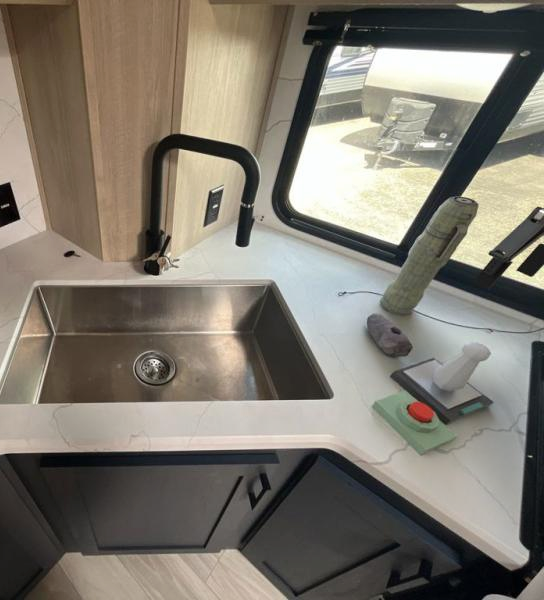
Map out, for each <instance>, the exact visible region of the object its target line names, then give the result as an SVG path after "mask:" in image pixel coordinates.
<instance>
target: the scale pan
mask: <svg viewBox="0 0 544 600" xmlns="http://www.w3.org/2000/svg"><path fill="white" fill-rule="evenodd" d="M436 360H437V359H436ZM436 360H433V361H430V362H428V363H425V364H422V365H419V366H416V367H413V368H411V369H408V370H405V371H403V372H402V374H404V375H405V376H406V377H407V378H408V379H410V380H411V381H412V382H413V383H414V384H416V385H417V386H418V387H419V388H420V389H421V390H423V391H424V392H425V393H426V394H427V395H429V396H430V397H431V398H432V399H433V400H435V401H436V402H437V403H438V404H439V405H441V406H442V407H443V408H444V409H445V410H450V409H452V408H454V407H457V406H459V405H462V404H464V403H466V402H469V401H471V400H474V399H476V398H479V397H481V396H482V394H483V393H482V392H481V393H482V394H481V393H479V392H478V391H479V390H478V389H477V390H478V391H477V390H475V389H476V388H475V387H474V386H473V387H474V388H475V389H474V388H473V387H471V386H472V385H471V384H470V383H469V384H470V385H471V386H470V385H469V384H466V385H465V387H464V388H462V389H458V390H454V391H451V392H449V391H446V390H443V389H440V388H439V387H438V386H437V385H436V384H435V383H434V371H435V370H436V369H437V368H438V367H440V366H441V365H442V364H443V363H442V364H440V363H441V362H440V361H439V360H438V361H439V362H440V363H439V362H438V361H436Z"/></svg>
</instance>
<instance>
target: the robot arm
mask: <svg viewBox="0 0 544 600" xmlns="http://www.w3.org/2000/svg"><path fill="white" fill-rule="evenodd" d="M542 237H544V207H541V206H536V207H535V208H533V210H532V211H531V212H530V213H529V214H528V216H527V217H526V218H525V219H524V220H523V221H521V222H520V224H518V225H517V226H516V227H515V228H514V229H513V230H512V231H511V232H510V233H509V234H508V235H507V236H506V237H504V239H502V240H501V241H500V242H499V243H498V244H497V245H496V246H494V248H492V249H491V250H489V252H488V253H487V254H488V256H489V257H491V259H490V260H489V261H488V262H487V264H486V265H485V266H484V268H483V269H482V270H481V271H480V272H479V274H478V275H477V276H476V278H475V279H474V280H473V281H472V284H474V285H476V286H478V287H480V288H482V289H484V290H486V291H488V290H490V289H491V288H492V287H493V286H494V285H495V284H496V283H497V281H498V280H499V279H500V278H501V277H502V275H503V274H504V273H505V272H506V271H507V270H508V269H509V267H510V266H511V265H512V264H513V263H514V262H513V261H512V260H514V259H515V258H516V257H518V256H520V254H521V253H523V252H524V251H526V250H527V249H528V248H529V247H531V246H532V245H533V244H535V243H536V242H537V241H539V240H540V239H541V238H542ZM542 267H544V243H538V244H537V246H536V247H535V248H534V249H533V250H532V251H531V253H529V254H528V256H526V258H525V259H524V260H523V262H522V263H520V265H519V266H518V267H517V268H516V269H515V271H517V272H519V273H521V274H523V275H525V276H527V277H530V278H533V277H534V276H535V275H536V274H537V273H538V272H539V271H540V270H541V269H542ZM481 600H544V566H543V567H542V568H541V569H540V570H539V572H538V573H537V574H536V575H535V576H534V577H533V579H531V581H530V582H529V583H528V584H527V586H525V588H524V589H523V590H522V591H521V592H520V594H518V596H517V597H516V598H514V597H509V596H507V595H503V594H495V593H494V594H493V593H491V594H487V595H485V596H483V598H482V599H481Z"/></svg>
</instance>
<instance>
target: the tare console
mask: <svg viewBox="0 0 544 600" xmlns="http://www.w3.org/2000/svg"><path fill="white" fill-rule="evenodd" d="M413 402H419V401H417V400H416V399H415V398H414V397H413V396H411V395H410V394H409V393H408V392H407V391H406V390H405V389H403V390H402V391H401V390H400V391H399V392H396V393H394V394H393V393H392V394H390V395H389V396H386V397H383V398H380V399H377V400H375V401H374V402H373V404H372V405H371V408H372V409H373V410H374V411H375V412H377V414H379V415H380V416H381V417H382V418H383V419H384V420H385V422H387V423H388V424H389V426H390V427H392V429H394V430H395V431H396V432H397V433H398V434H399V435H400V437H402V439H404V441H406V442H407V444H408V445H410V446H411V448H412V449H414V451H416V453H418V454H419V455H420V456H423V455H425V454H427V453H430V452H431V451H434V450H436V449H438V448H440V447H443V446H445V445H447V444H449V443H451V442H453V441H454V440H455V439H456V438H458V435H457V434H456V433H454V432H453V431H452V430H451V429H450V428H449V427H448V426H447V425H445V424H444V423H442V422H441V421H440V420H439V419H438V417H437V415H436V413H435V412H434V411H433V412H434V417H433V418H432V419H431V420H430V421H429V422H427V423H422V422H419V421H417V420H415V419H414V418H413V417H411V416H410V415H409V413H408V407H409V406H410V405H411V404H412V403H413Z"/></svg>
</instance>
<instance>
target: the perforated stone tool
mask: <svg viewBox="0 0 544 600" xmlns="http://www.w3.org/2000/svg"><path fill="white" fill-rule="evenodd" d="M366 328H367V331H368V333H369V334H370V336H371V337H372V340H374V342H375V344H376V346H378V347H379V348H380V349H381V350H382V351H383V352H384V354H385V355H388V356H394V357H397V358H403V357H407V356H408V355H410V354H411V352H412V350H413V348H414V346H413V344H412V342H411V340H410V339H409V338H408V336H407V335H406V334H405V332H404V331H403V330H402V329H401V328H399V327H398V326H397V325H396V324H395V323H394V322H392V320H390V319H388V318H387V317H385V316H384V315H382V314H379V313H376V312H375V313H371V314H370V315H368V316H367V318H366Z"/></svg>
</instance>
